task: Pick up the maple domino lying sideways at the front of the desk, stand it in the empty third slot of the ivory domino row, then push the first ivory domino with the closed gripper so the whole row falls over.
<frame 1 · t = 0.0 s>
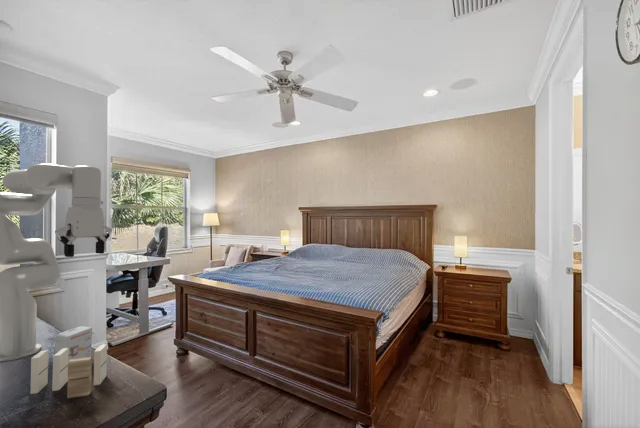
hand: (85, 254, 98), 37 cm above the table, tool pointing down, fingers open, 9 cm apart
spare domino: (79, 395, 83), on the table
domino 2: (60, 385, 87), on the table
domino 4: (100, 380, 90), on the table
domino 1: (39, 388, 86), on the table
ink box: (73, 366, 99), on the table
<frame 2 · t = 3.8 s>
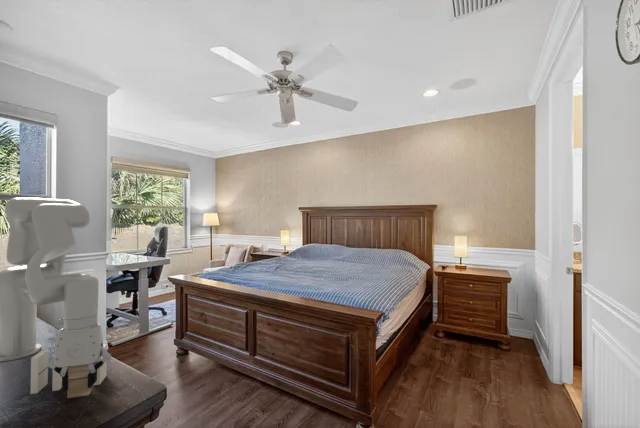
hand: (79, 386, 83), 2 cm above the table, tool pointing down, fingers closed on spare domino, 4 cm apart
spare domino: (79, 395, 83), on the table, touching gripper
everything else where it was.
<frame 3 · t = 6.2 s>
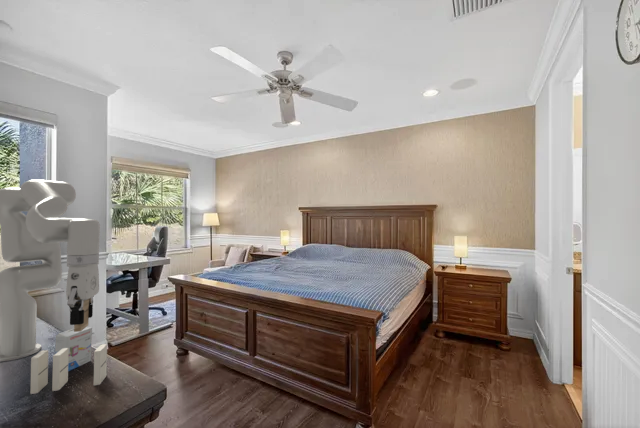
hand: (81, 320, 89), 19 cm above the table, tool pointing down, fingers closed on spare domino, 4 cm apart
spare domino: (81, 328, 89), point 16 cm above the table, touching gripper
everything else where it was.
when the fingers open (3 cm above the table, at t = 9.1 s): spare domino stays where it is, on the table.
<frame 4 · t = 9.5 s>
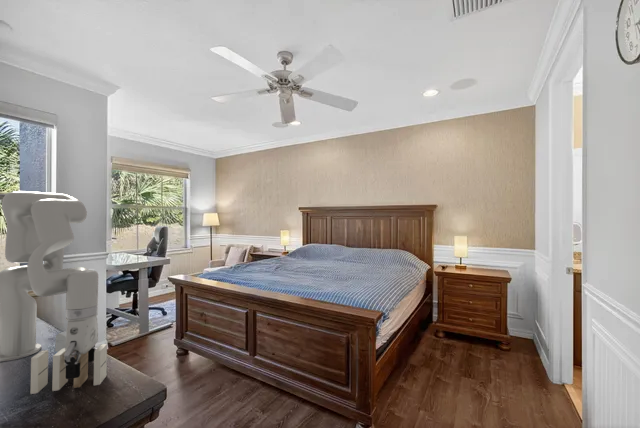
hand: (80, 369, 89), 4 cm above the table, tool pointing down, fingers open, 9 cm apart
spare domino: (80, 382, 89), on the table
everything else where it was.
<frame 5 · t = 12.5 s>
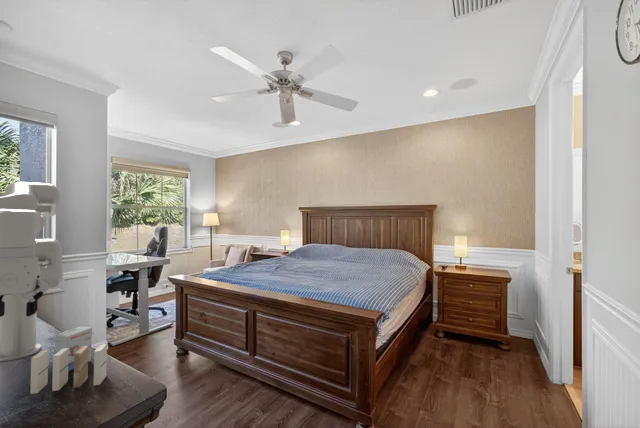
hand: (15, 315, 84), 22 cm above the table, tool pointing down, fingers open, 6 cm apart
nothing on the table moved.
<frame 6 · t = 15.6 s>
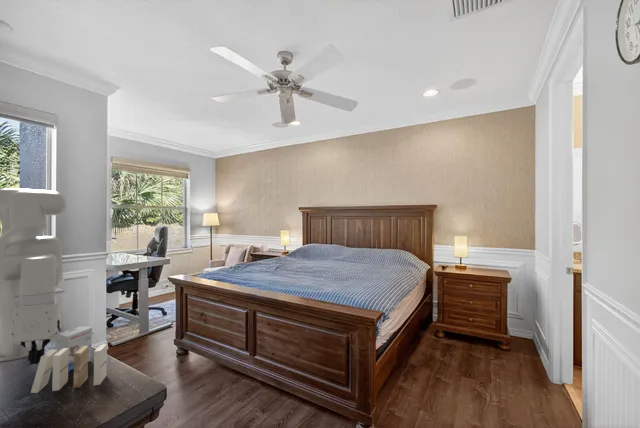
hand: (36, 362, 85), 8 cm above the table, tool pointing down, fingers closed
domino 1: (39, 388, 86), on the table, tilted 13°
everything else where it was.
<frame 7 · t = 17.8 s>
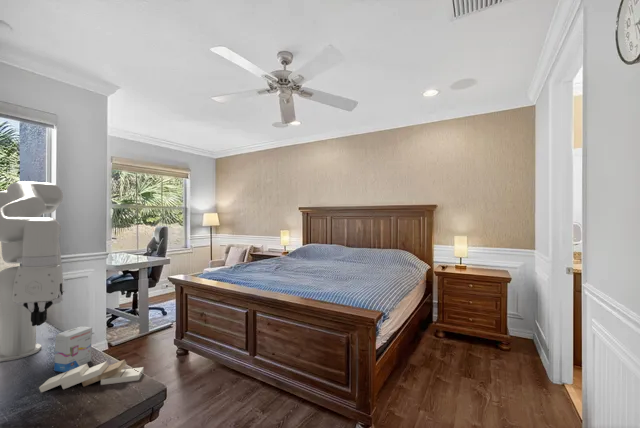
hand: (38, 324, 86), 19 cm above the table, tool pointing down, fingers closed
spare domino: (86, 379, 89), point 1 cm above the table, tilted 71°, touching domino 2, domino 4
domino 2: (67, 382, 88), point 1 cm above the table, tilted 71°, touching domino 1, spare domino
domino 4: (104, 378, 90), point 1 cm above the table, tilted 90°, touching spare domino
domino 1: (45, 385, 86), point 1 cm above the table, tilted 71°, touching domino 2
everything else where it was.
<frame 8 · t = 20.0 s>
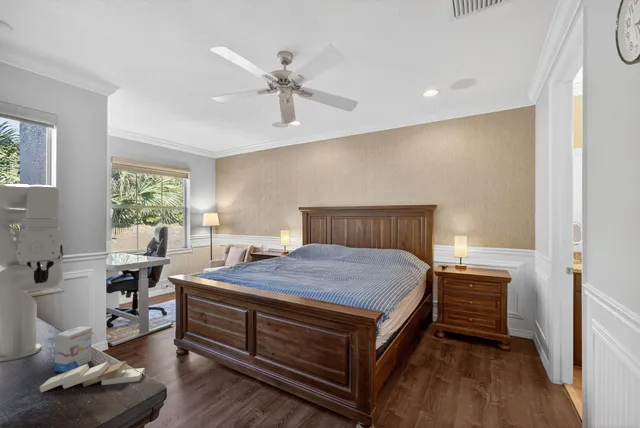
hand: (41, 282, 93), 29 cm above the table, tool pointing down, fingers closed
domino 2: (68, 381, 88), point 1 cm above the table, tilted 71°, touching domino 1, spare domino
at the end: domino 4 tilted 90°; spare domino tilted 72° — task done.
